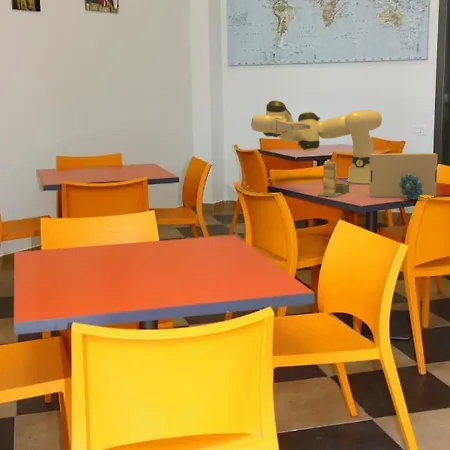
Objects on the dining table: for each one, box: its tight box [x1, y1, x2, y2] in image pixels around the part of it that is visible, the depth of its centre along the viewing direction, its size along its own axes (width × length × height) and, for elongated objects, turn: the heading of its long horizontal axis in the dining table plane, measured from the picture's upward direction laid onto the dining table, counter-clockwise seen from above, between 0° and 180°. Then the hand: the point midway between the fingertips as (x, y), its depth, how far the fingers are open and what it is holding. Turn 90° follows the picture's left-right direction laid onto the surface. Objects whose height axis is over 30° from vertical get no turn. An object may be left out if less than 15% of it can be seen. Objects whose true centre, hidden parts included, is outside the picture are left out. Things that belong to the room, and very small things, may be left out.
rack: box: [336, 182, 350, 195], centre depth 335 cm, size 8×10×4 cm
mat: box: [317, 192, 343, 198], centre depth 326 cm, size 9×9×1 cm
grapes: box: [399, 173, 423, 201], centre depth 308 cm, size 12×7×12 cm, turn 48°
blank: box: [322, 161, 337, 195], centre depth 325 cm, size 4×5×15 cm
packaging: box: [368, 152, 439, 198], centre depth 319 cm, size 30×6×20 cm, turn 84°
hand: (306, 127), depth 330 cm, fingers open, 8 cm apart
